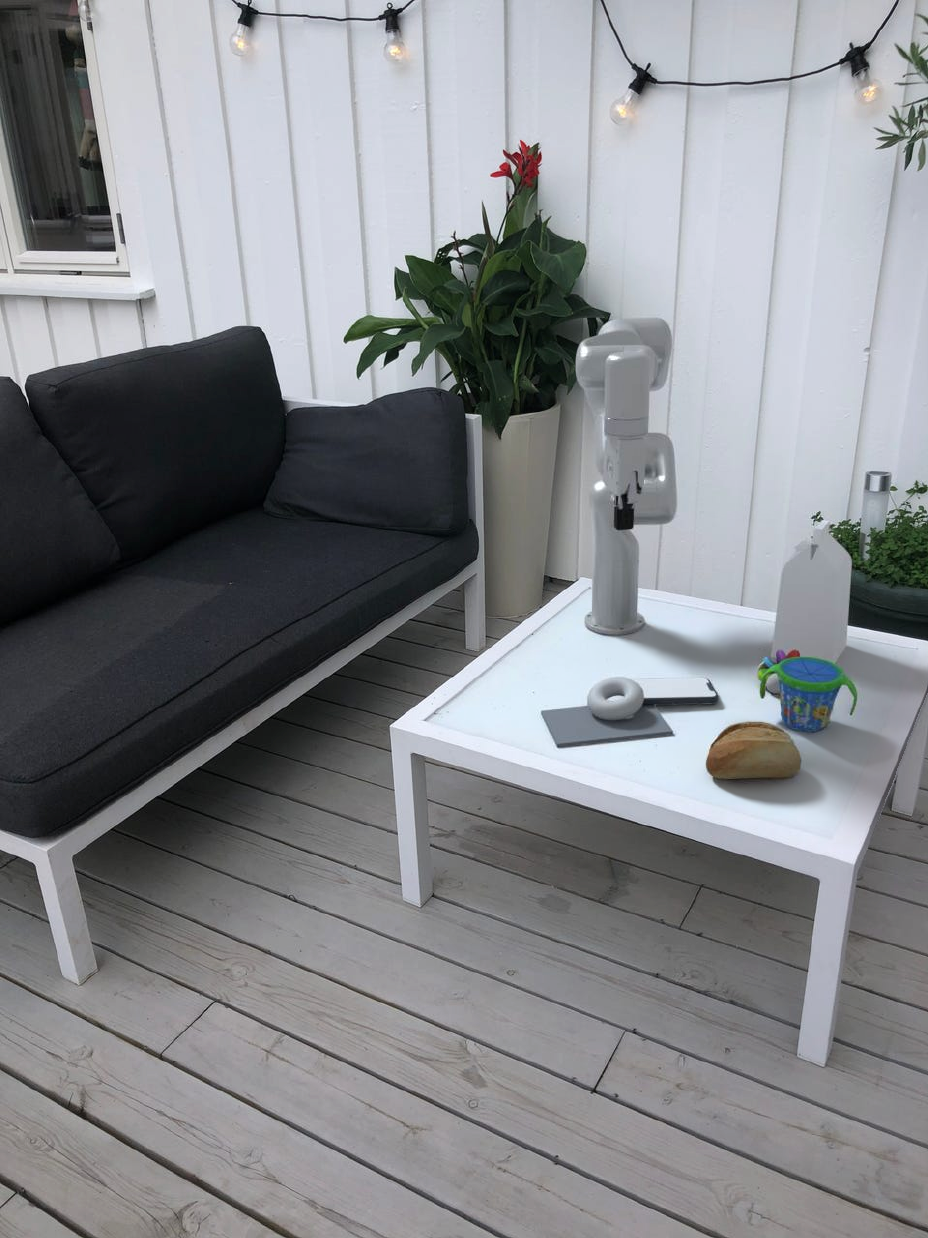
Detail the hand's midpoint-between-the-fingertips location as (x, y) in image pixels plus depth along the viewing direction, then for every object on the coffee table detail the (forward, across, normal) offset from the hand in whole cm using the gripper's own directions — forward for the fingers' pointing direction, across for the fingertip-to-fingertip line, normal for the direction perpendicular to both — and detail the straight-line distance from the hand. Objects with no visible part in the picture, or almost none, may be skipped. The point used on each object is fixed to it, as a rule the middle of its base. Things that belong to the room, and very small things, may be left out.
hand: (623, 528), depth 180 cm
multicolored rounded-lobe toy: (+29, +11, +28) cm, 42 cm away
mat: (+29, +18, -8) cm, 35 cm away
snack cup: (+29, +25, +25) cm, 46 cm away
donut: (+26, +11, -8) cm, 29 cm away
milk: (+29, -2, +39) cm, 49 cm away
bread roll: (+29, +38, +10) cm, 49 cm away
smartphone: (+29, +11, +6) cm, 31 cm away
